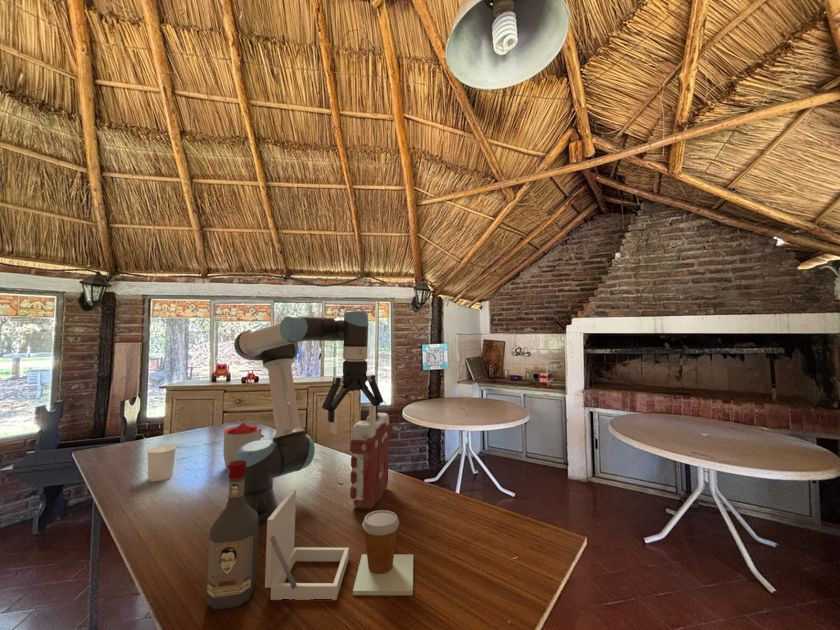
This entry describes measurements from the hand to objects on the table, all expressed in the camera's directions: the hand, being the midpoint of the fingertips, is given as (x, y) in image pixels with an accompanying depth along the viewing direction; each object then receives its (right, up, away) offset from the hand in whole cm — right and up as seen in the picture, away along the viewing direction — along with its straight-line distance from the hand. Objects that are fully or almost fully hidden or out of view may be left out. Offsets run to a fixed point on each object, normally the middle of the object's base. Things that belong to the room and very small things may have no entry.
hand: (353, 429), depth 110 cm
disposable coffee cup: (+10, -30, -18) cm, 36 cm away
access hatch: (-6, -30, -21) cm, 37 cm away
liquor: (-23, -30, -27) cm, 47 cm away
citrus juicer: (-61, -35, +54) cm, 89 cm away
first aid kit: (+2, -33, +23) cm, 41 cm away
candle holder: (-89, -33, +40) cm, 103 cm away
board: (+12, -31, -20) cm, 38 cm away
